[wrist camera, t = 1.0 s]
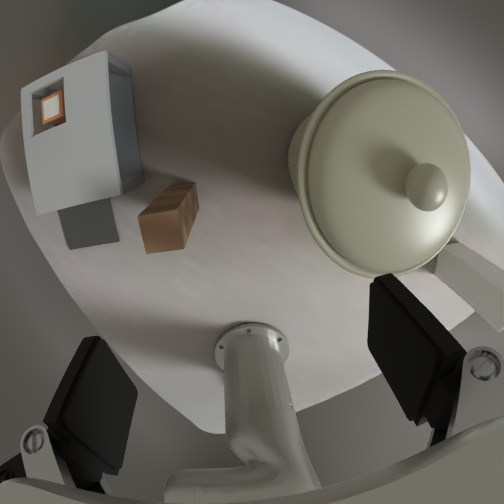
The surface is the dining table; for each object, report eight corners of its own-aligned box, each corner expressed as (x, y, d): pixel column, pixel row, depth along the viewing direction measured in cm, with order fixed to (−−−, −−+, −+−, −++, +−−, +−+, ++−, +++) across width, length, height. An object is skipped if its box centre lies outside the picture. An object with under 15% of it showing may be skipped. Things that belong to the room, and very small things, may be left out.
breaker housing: (144, 181, 34) (120, 195, 26) (70, 198, 33) (37, 215, 25) (130, 67, 27) (104, 49, 19) (57, 93, 27) (20, 88, 19)
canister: (241, 126, 32) (261, 109, 13) (360, 77, 30) (471, 47, 11) (301, 245, 39) (363, 344, 20) (403, 191, 37) (509, 242, 18)
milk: (438, 245, 42) (525, 308, 21) (459, 241, 42) (542, 298, 22) (433, 275, 44) (509, 344, 24) (454, 270, 44) (528, 332, 24)
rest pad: (119, 240, 37) (118, 241, 36) (70, 248, 36) (69, 249, 36) (105, 178, 33) (104, 179, 33) (56, 192, 33) (54, 192, 32)
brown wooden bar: (199, 208, 36) (184, 249, 23) (174, 211, 36) (146, 253, 23) (195, 182, 35) (176, 209, 22) (169, 186, 34) (137, 216, 22)
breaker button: (79, 116, 26) (62, 115, 22) (59, 124, 26) (42, 124, 22) (77, 93, 25) (60, 90, 21) (58, 101, 25) (40, 99, 21)
